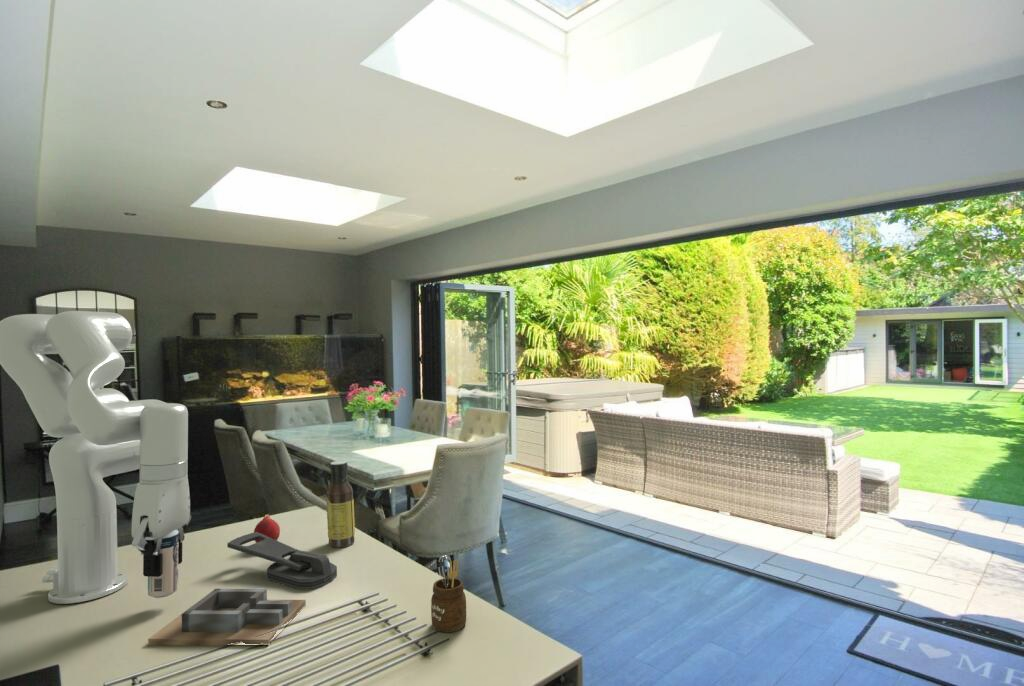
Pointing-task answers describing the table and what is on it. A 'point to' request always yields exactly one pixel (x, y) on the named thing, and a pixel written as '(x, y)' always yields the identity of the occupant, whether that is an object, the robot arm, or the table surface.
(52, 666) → the table surface
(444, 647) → the table surface
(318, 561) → the zipper pull
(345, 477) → the sauce bottle
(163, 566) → the beer can
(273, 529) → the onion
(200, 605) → the keyhole board
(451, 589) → the utensil holder
